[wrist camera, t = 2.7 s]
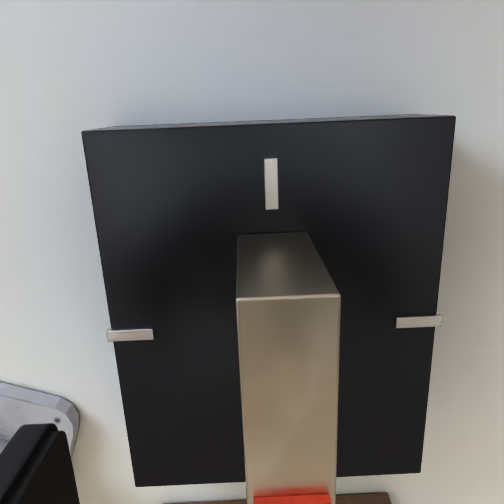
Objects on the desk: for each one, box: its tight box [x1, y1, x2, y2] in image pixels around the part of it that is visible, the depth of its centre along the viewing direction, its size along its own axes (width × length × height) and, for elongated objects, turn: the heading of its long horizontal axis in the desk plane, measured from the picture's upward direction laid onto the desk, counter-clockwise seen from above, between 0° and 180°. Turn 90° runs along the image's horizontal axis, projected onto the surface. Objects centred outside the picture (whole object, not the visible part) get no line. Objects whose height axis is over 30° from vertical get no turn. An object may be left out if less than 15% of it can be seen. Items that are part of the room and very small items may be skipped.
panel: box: [82, 114, 456, 487], centre depth 15 cm, size 12×10×3 cm
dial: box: [236, 232, 341, 504], centre depth 11 cm, size 6×2×5 cm, turn 2°
